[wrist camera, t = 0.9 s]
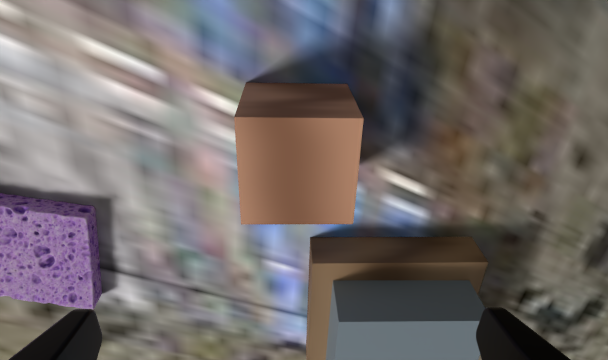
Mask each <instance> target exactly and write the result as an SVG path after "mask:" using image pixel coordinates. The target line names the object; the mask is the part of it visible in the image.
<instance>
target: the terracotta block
mask: <svg viewBox="0 0 608 360" xmlns="http://www.w3.org/2000/svg"><path fill="white" fill-rule="evenodd" d="M234 118H235V134H236V150H237V166H238V181H239V197H240V213H241V224H353V219H354V209H355V199H356V189H357V179H358V169H359V159H360V149H361V139H362V129H363V119H364V118H363V116H362V114H361V112H360V110H359V108H358V106H357V103H356V101H355V99H354V97H353V95H352V93H351V91H350V89H349V87H348V84H315V83H246V84H245V87H244V90H243V93H242V96H241V99H240V102H239V105H238V108H237V111H236V114H235V117H234Z"/></svg>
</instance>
